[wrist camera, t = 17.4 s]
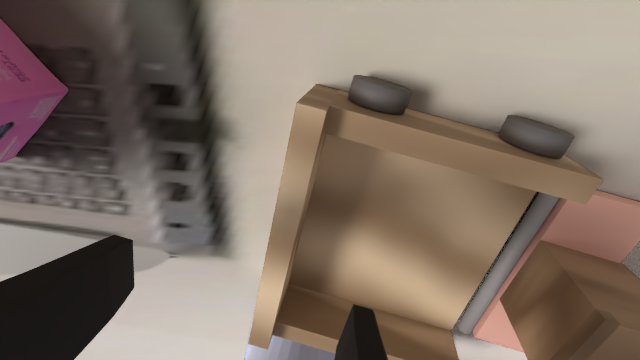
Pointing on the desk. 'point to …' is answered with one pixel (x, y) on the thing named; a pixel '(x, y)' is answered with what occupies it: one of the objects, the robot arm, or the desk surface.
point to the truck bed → (397, 216)
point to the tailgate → (558, 228)
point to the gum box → (23, 93)
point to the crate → (574, 306)
